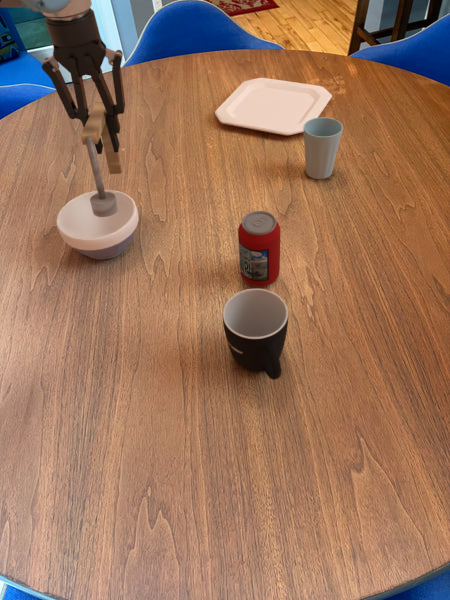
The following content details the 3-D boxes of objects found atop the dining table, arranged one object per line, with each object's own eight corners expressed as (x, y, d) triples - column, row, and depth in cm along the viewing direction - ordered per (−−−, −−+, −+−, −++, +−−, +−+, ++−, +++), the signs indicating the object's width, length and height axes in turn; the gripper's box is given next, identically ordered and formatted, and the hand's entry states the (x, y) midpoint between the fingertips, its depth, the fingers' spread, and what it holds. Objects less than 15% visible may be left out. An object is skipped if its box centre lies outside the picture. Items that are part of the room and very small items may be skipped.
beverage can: (232, 275, 84) (228, 222, 75) (260, 256, 86) (259, 202, 77) (260, 296, 80) (258, 242, 71) (287, 275, 83) (289, 221, 74)
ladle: (116, 216, 84) (99, 139, 75) (91, 218, 84) (71, 141, 75) (127, 170, 98) (113, 101, 89) (105, 172, 98) (90, 102, 89)
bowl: (93, 215, 98) (82, 183, 92) (157, 227, 94) (149, 195, 88) (54, 263, 89) (39, 232, 83) (123, 278, 85) (112, 247, 79)
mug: (218, 342, 74) (212, 299, 67) (271, 324, 76) (271, 280, 68) (248, 406, 67) (245, 366, 59) (306, 384, 68) (310, 342, 61)
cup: (304, 159, 106) (307, 115, 98) (339, 164, 104) (345, 118, 96) (297, 179, 101) (299, 134, 93) (333, 184, 99) (339, 138, 91)
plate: (248, 83, 132) (248, 75, 130) (336, 96, 124) (337, 87, 122) (207, 126, 118) (206, 118, 116) (303, 145, 110) (303, 136, 108)
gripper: (120, -3, 75) (150, 134, 93) (22, 8, 75) (70, 142, 93) (117, 15, 70) (148, 156, 88) (12, 27, 70) (65, 164, 88)
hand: (108, 148), depth 90 cm, fingers closed on ladle, 2 cm apart
